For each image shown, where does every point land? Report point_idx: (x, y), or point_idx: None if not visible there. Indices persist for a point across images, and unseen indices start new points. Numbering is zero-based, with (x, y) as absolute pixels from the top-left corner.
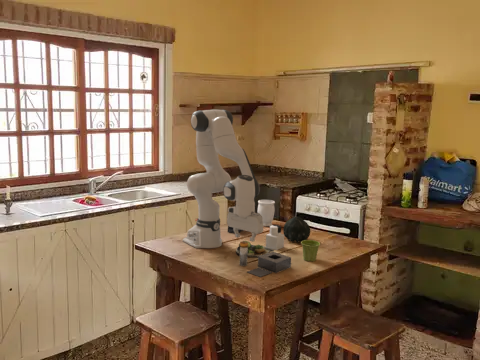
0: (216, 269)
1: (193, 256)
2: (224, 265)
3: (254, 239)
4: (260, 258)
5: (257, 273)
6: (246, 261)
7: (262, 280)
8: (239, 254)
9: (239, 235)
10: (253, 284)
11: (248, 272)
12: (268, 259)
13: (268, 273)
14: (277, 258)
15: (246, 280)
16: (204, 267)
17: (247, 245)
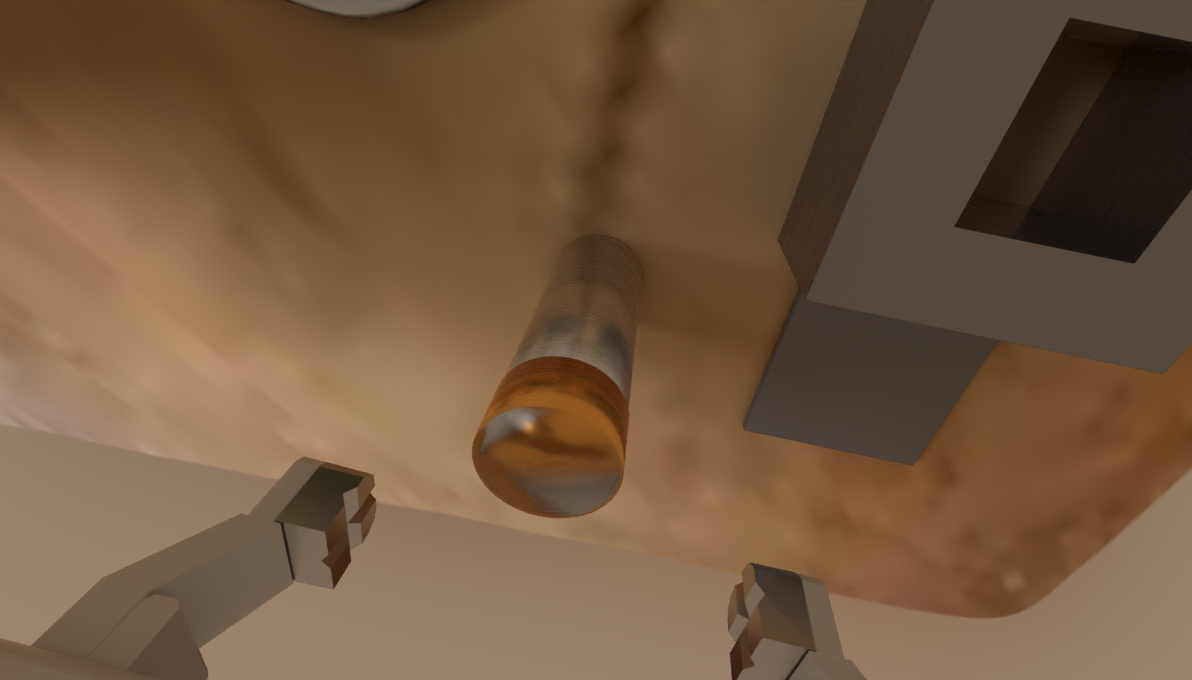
0: None
1: (100, 346)
2: (466, 386)
3: (827, 609)
4: (849, 302)
5: (860, 423)
6: (639, 304)
7: (950, 501)
8: (341, 14)
9: (348, 498)
10: (897, 578)
11: (761, 431)
12: (1005, 320)
13: (977, 367)
14: (1123, 34)
15: (815, 547)
16: (387, 490)
17: (625, 429)
